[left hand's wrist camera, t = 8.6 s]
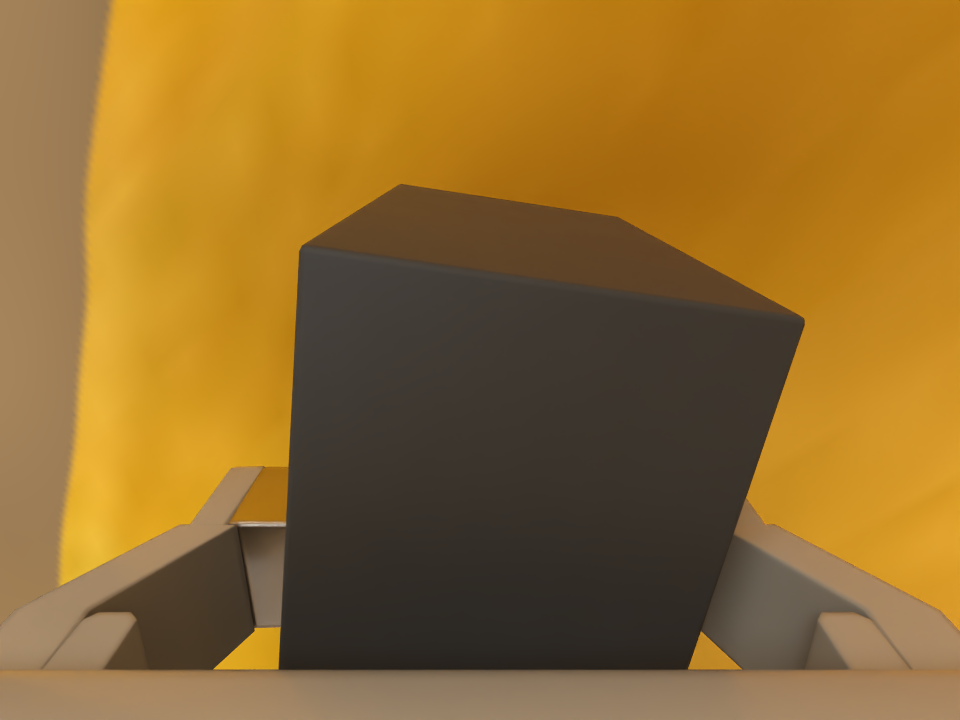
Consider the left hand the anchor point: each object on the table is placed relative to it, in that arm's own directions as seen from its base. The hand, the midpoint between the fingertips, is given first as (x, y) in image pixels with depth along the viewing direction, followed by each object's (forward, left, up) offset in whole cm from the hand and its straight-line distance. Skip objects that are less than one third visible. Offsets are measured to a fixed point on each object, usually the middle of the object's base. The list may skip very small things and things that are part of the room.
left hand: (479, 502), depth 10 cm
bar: (+23, +5, -3) cm, 23 cm away
